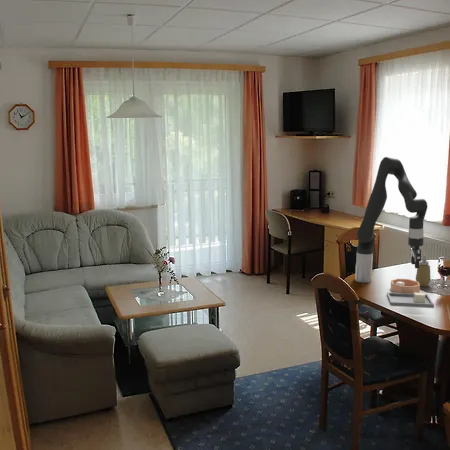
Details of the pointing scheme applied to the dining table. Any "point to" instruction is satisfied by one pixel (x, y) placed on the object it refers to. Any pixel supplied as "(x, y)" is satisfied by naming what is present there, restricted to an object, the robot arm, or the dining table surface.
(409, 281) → the bowl
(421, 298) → the sandy stone
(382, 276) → the dining table surface
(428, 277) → the squeeze bottle
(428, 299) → the parts tray
